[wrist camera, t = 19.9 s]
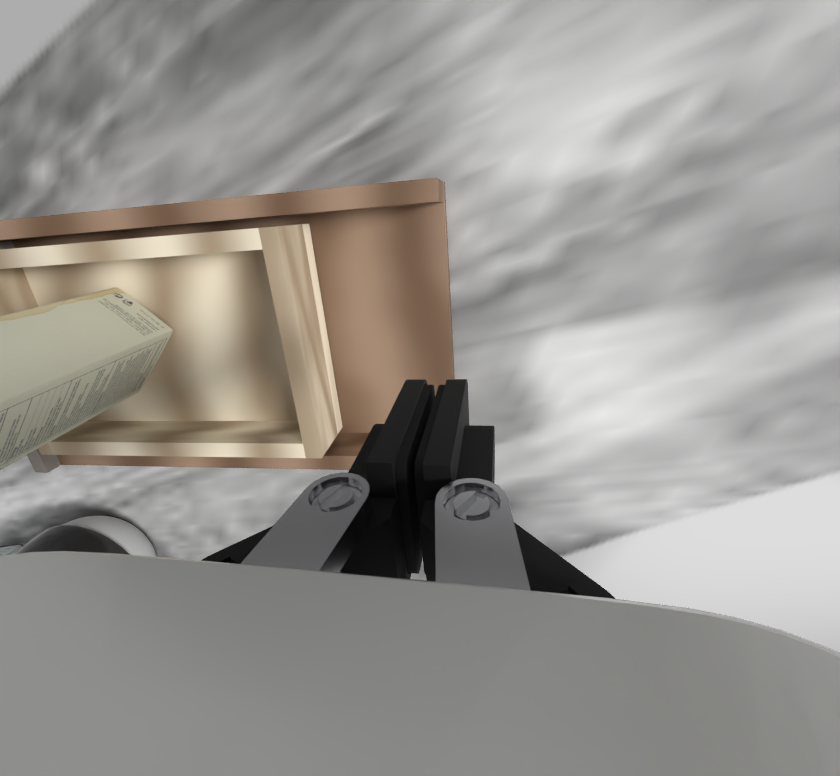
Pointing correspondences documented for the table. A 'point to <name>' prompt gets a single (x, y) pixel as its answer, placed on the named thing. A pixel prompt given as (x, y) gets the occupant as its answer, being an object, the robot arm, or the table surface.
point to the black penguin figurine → (92, 537)
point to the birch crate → (202, 341)
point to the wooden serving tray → (339, 285)
